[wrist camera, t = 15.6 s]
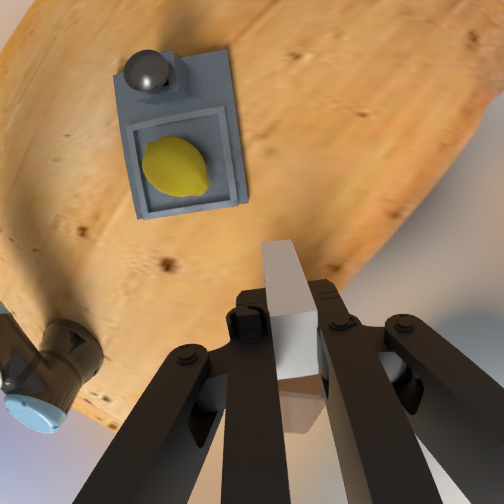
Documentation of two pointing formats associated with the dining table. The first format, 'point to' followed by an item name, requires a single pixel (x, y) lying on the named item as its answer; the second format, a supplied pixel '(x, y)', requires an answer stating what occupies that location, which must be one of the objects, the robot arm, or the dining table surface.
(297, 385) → the wooden block
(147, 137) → the base
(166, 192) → the lemon
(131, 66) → the ball
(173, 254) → the dining table surface
